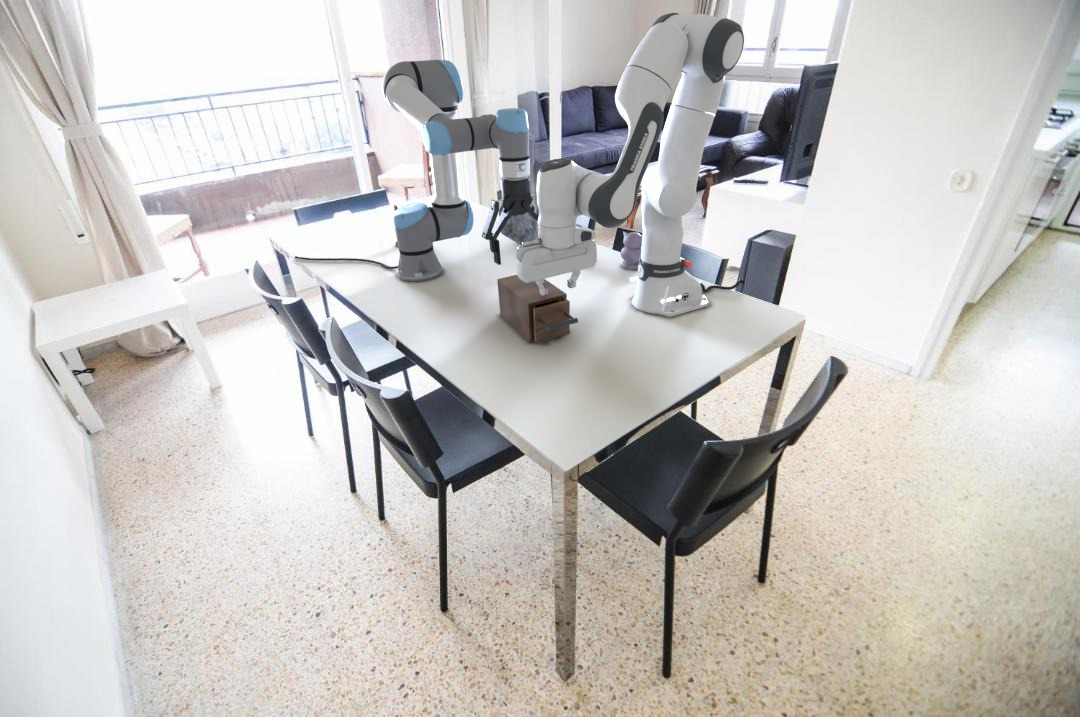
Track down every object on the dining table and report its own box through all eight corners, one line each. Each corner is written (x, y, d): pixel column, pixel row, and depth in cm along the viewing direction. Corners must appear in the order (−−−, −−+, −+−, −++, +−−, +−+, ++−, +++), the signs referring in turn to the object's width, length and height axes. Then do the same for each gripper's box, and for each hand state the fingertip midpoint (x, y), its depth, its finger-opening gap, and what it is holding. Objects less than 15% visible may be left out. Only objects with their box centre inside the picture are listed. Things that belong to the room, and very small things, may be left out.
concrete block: (555, 250, 192) (555, 197, 181) (537, 255, 188) (535, 201, 177) (517, 234, 210) (514, 185, 200) (499, 238, 206) (496, 189, 196)
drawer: (580, 342, 129) (581, 309, 124) (546, 352, 125) (545, 318, 120) (538, 308, 147) (537, 278, 142) (507, 316, 143) (504, 286, 138)
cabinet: (566, 332, 136) (566, 293, 130) (530, 343, 131) (528, 303, 125) (534, 306, 150) (532, 270, 144) (500, 315, 146) (497, 279, 140)
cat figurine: (648, 265, 175) (651, 232, 169) (635, 272, 170) (638, 238, 164) (628, 260, 180) (630, 227, 174) (615, 266, 175) (616, 233, 169)
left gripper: (474, 186, 117) (483, 271, 128) (565, 173, 127) (566, 253, 138) (463, 181, 123) (472, 263, 134) (551, 168, 132) (553, 246, 143)
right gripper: (522, 247, 108) (525, 305, 115) (601, 231, 116) (599, 286, 123) (510, 239, 112) (514, 295, 120) (586, 224, 120) (585, 277, 128)
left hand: (520, 258), depth 136 cm, fingers open, 13 cm apart
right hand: (557, 290), depth 121 cm, fingers open, 6 cm apart
